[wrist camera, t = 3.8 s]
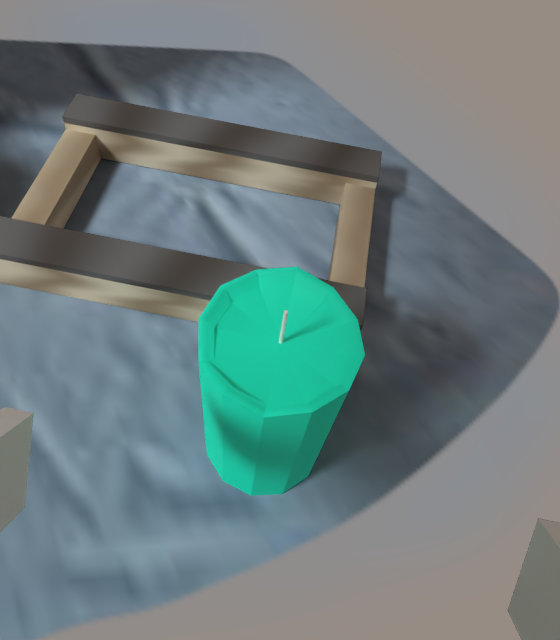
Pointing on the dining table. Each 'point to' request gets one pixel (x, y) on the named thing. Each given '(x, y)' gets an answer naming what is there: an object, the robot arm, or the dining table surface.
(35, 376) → the dining table surface
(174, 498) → the dining table surface
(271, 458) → the candle
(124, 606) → the dining table surface
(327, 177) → the rectangular wooden frame
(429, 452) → the dining table surface
